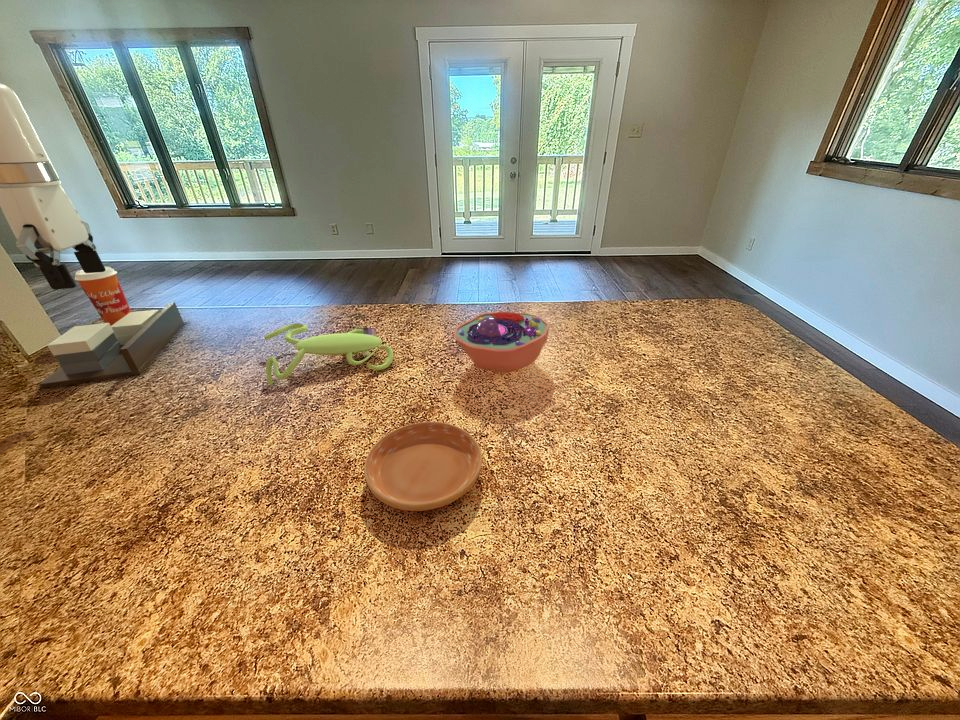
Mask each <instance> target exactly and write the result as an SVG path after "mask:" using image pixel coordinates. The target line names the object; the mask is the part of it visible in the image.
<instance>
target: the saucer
mask: <svg viewBox="0 0 960 720" xmlns="http://www.w3.org/2000/svg"><path fill="white" fill-rule="evenodd" d="M482 465H483V453H482V449H481V447H480V444H479V442H478V441H477V440H476V439H475V438H474V436H473V435H472V434H471V433H469V432H468V431H466V430H465V429H463V428H461V427H459V426H457V425H455V424H452V423H447V422H442V421H420V422H413V423H410V424H407V425H403V426H401V427H398V428H396V429H393V430H392V431H390V432H388V433H386V434H385V435H384V436H383V437H381V438H380V439H379V440H377V442H376V443H374V445H373V446H372V447H371V449H370V451H369V452H368V453H367V455H366V459H365V461H364V465H363V466H364V467H363V468H364V469H363V474H364V479H365V482H366V484H367V487H368V489H369V490H370V492H371V494H372V495H373V496H374V497H375V498H376V499H378V500H379V501H380V502H382V503H383V504H384V505H386V506H389V507H391V508H394V509H398V510H402V511H411V512H423V511H424V512H425V511H430V510H434V509H438V508H442V507H445V506H448V505H449V504H452V503H454V502H455V501H457V500H459V499H460V498H461V497H463V496H464V495H465V494H466V493H467V492H469V491H470V490H471V488H473V486H474V485H475V484H476V482H477V480H478V479H479V476H480V473H481V470H482Z"/></svg>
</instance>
